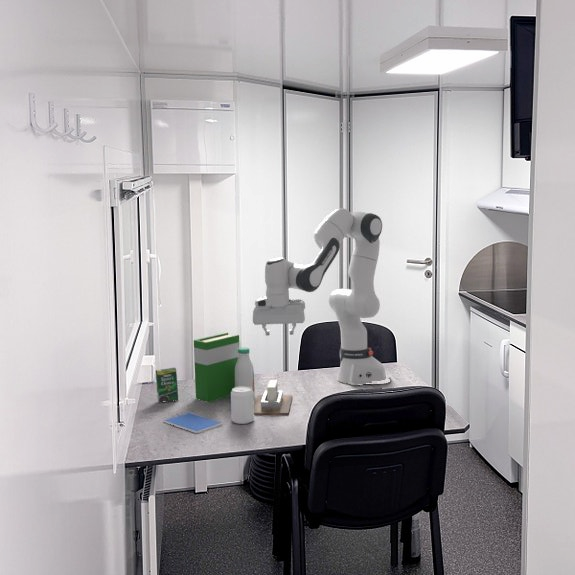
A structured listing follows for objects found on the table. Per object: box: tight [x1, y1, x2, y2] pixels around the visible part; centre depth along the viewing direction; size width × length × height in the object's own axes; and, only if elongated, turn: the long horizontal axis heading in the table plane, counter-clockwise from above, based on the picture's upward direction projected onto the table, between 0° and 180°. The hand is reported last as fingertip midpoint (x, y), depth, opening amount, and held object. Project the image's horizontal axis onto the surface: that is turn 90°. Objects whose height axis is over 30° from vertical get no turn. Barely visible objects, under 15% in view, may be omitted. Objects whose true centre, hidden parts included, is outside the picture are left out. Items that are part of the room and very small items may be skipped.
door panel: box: [266, 379, 279, 401], centre depth 287 cm, size 3×10×8 cm, turn 176°
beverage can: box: [230, 386, 255, 425], centre depth 270 cm, size 8×8×12 cm
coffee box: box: [155, 367, 179, 403], centre depth 295 cm, size 8×3×13 cm, turn 110°
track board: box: [254, 394, 293, 416], centre depth 288 cm, size 14×22×1 cm, turn 176°
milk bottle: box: [235, 346, 255, 398], centre depth 298 cm, size 8×8×20 cm
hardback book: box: [193, 332, 241, 403], centre depth 301 cm, size 18×7×24 cm, turn 137°
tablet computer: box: [163, 412, 223, 434], centre depth 269 cm, size 19×13×1 cm, turn 47°
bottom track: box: [261, 390, 284, 410], centre depth 288 cm, size 7×15×3 cm, turn 176°
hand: (279, 334), depth 291 cm, fingers open, 8 cm apart
